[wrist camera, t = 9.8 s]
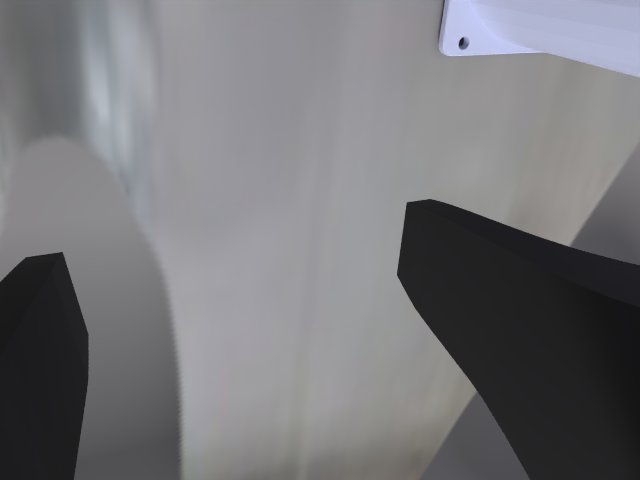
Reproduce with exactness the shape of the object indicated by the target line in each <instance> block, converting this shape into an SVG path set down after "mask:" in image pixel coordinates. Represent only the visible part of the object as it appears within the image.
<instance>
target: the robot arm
mask: <svg viewBox="0 0 640 480" xmlns="http://www.w3.org/2000/svg"><path fill="white" fill-rule="evenodd" d="M462 37H463V38H464V43H463V45H462V46H461V47H460V48H459V46H458V43H459V41H460V39H461V38H462ZM439 49H440V51H441V52H442V53H443V54H445V55H448V56H466V55H489V54H513V53H536V52H546V53H550V54H554V55H558V56H561V57H565V58H569V59H573V60H576V61H580V62H584V63H588V64H591V65H595V66H599V67H603V68H606V69H610V70H614V71H618V72H621V73H625V74H629V75H633V76H636V77H640V0H445V4H444V11H443V18H442V24H441V31H440V38H439ZM397 276H398V278H399V280H400V282H401V284H402V285H403V287H404V289H405V291H406V293H407V295H408V297H409V298H410V300H411V302H412V304H413V305H414V307H415V309H416V310H417V311H418V313H419V314H420V316H421V317H422V318H423V320H424V321H425V322H426V324H427V325H428V326H429V328H430V329H431V330H432V332H433V333H434V334H435V336H436V337H437V338H438V339H439V341H440V342H441V343H442V345H443V346H444V347H445V349H446V350H447V351H448V352H449V354H450V355H451V356H452V358H453V359H454V360H455V362H456V363H457V364H458V366H459V367H460V368H461V369H462V371H463V372H464V373H465V375H466V376H467V377H468V379H469V380H470V381H471V383H472V384H473V385H474V387H475V388H476V390H477V391H478V393H479V394H480V395H481V397H482V398H483V400H484V402H485V403H486V405H487V406H488V408H489V410H490V411H491V413H492V415H493V416H494V418H495V420H496V421H497V423H498V425H499V426H500V428H501V429H502V431H503V432H504V434H505V436H506V438H507V439H508V441H509V443H510V445H511V446H512V448H513V450H514V452H515V453H516V455H517V457H518V459H519V461H520V462H521V464H522V466H523V467H524V469H525V471H526V473H527V475H528V476H529V478H530V480H640V265H636V264H631V263H627V262H622V261H619V260H615V259H611V258H607V257H603V256H599V255H596V254H592V253H588V252H585V251H581V250H578V249H575V248H571V247H568V246H565V245H562V244H559V243H556V242H553V241H550V240H547V239H544V238H541V237H538V236H535V235H532V234H529V233H526V232H523V231H521V230H518V229H515V228H513V227H510V226H507V225H504V224H502V223H499V222H496V221H494V220H491V219H488V218H486V217H483V216H480V215H478V214H475V213H472V212H470V211H467V210H464V209H462V208H459V207H456V206H453V205H450V204H447V203H443V202H440V201H436V200H432V199H428V200H421V201H414V202H407V205H406V213H405V220H404V227H403V234H402V242H401V249H400V256H399V264H398V271H397ZM87 385H88V332H87V329H86V325H85V322H84V319H83V316H82V313H81V309H80V306H79V303H78V300H77V297H76V293H75V290H74V287H73V284H72V281H71V277H70V274H69V271H68V268H67V265H66V261H65V258H64V255H63V252H60V253H53V254H46V255H40V256H32V257H26V258H25V259H24V260H23V261H21V262H20V263H19V264H18V265H17V266H16V267H15V268H14V269H13V270H12V271H11V272H10V273H9V274H8V275H7V276H6V277H5V278H4V279H3V280H2V281H1V282H0V480H74V473H75V468H76V461H77V454H78V447H79V441H80V434H81V427H82V421H83V414H84V407H85V399H86V393H87Z"/></svg>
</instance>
